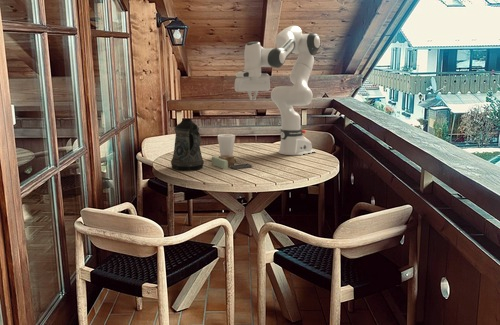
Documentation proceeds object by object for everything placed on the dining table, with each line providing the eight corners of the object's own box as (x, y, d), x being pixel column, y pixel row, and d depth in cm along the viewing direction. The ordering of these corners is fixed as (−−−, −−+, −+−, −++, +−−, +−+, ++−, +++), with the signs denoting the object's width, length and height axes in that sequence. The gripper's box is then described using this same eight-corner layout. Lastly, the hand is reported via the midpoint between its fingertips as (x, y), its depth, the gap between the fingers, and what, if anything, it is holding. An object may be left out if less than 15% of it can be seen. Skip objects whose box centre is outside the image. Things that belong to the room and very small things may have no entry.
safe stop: (215, 163, 266) (215, 156, 265) (227, 168, 254) (227, 160, 253) (212, 164, 265) (211, 156, 264) (224, 169, 253) (224, 161, 252)
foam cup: (232, 160, 275) (232, 136, 272) (216, 159, 277) (216, 136, 274) (236, 157, 284) (236, 134, 281) (220, 156, 286) (220, 133, 283)
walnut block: (228, 164, 266) (228, 154, 265) (234, 166, 260) (234, 156, 259) (218, 165, 263) (218, 156, 262) (224, 167, 257) (224, 157, 256)
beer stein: (183, 163, 267) (182, 116, 262) (214, 166, 258) (214, 118, 253) (164, 169, 253) (162, 119, 248) (196, 173, 244) (195, 122, 239)
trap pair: (232, 160, 275) (232, 158, 275) (251, 167, 257) (251, 165, 257) (215, 162, 270) (215, 160, 270) (234, 169, 252) (234, 167, 252)
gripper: (266, 73, 270) (266, 98, 273) (232, 73, 260) (233, 100, 262) (272, 73, 265) (272, 99, 267) (238, 73, 254) (239, 101, 257)
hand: (252, 100), depth 265 cm, fingers closed
